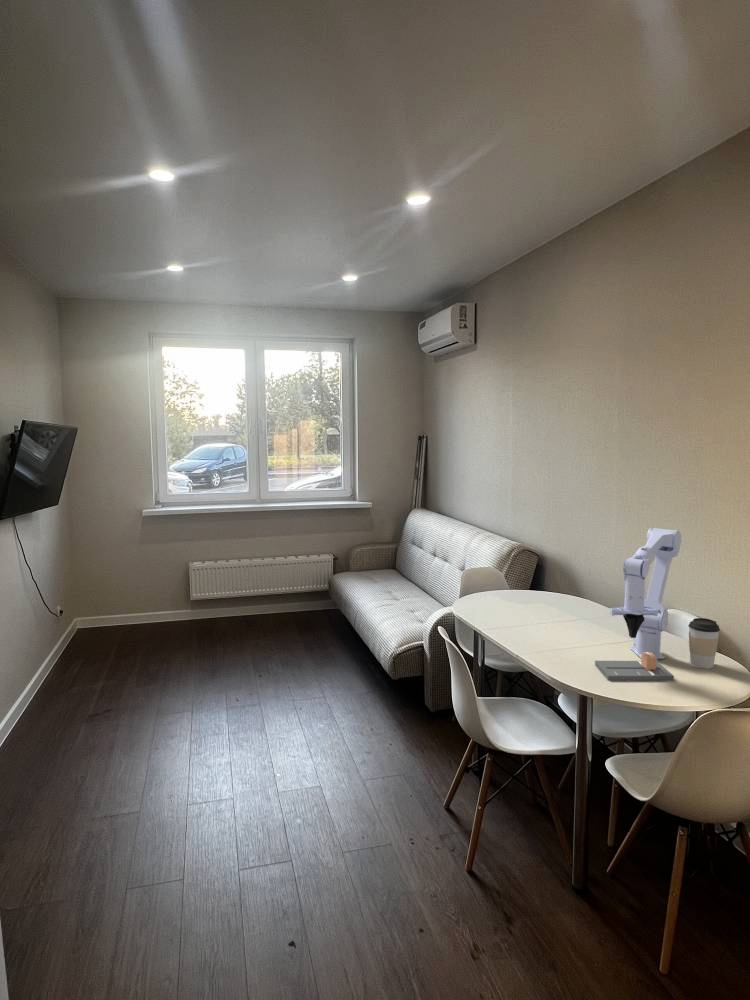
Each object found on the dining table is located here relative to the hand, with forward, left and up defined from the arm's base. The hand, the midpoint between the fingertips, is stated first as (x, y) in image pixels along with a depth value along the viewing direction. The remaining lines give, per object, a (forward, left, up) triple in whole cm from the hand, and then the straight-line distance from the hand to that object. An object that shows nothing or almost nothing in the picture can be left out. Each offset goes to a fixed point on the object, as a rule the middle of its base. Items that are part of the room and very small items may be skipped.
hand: (632, 636), depth 193 cm
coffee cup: (-3, +24, -11) cm, 27 cm away
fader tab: (+4, +4, -9) cm, 10 cm away
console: (+4, -1, -10) cm, 11 cm away
